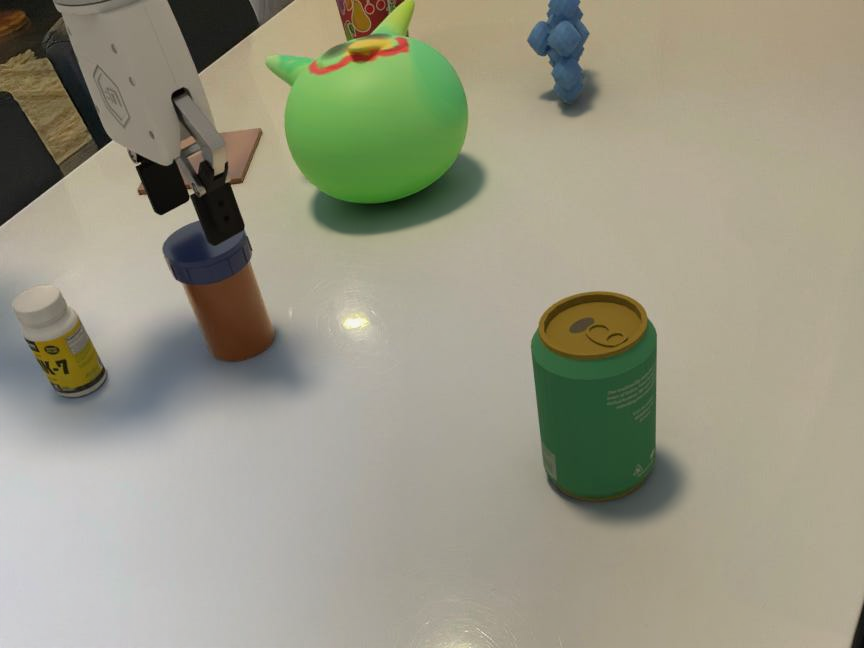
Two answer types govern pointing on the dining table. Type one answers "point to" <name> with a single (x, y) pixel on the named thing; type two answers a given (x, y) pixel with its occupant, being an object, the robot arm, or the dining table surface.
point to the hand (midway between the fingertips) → (199, 220)
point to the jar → (232, 316)
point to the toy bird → (374, 113)
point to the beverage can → (596, 394)
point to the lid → (204, 255)
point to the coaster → (228, 154)
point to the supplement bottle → (59, 341)
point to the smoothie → (364, 15)
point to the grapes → (562, 46)
